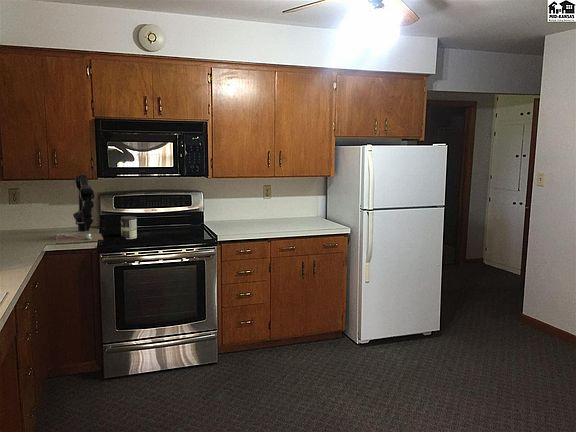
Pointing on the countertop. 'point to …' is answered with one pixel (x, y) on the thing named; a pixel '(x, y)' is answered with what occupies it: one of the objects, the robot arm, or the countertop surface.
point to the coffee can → (129, 227)
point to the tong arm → (80, 237)
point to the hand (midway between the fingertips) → (87, 230)
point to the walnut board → (63, 239)
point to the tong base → (72, 234)
